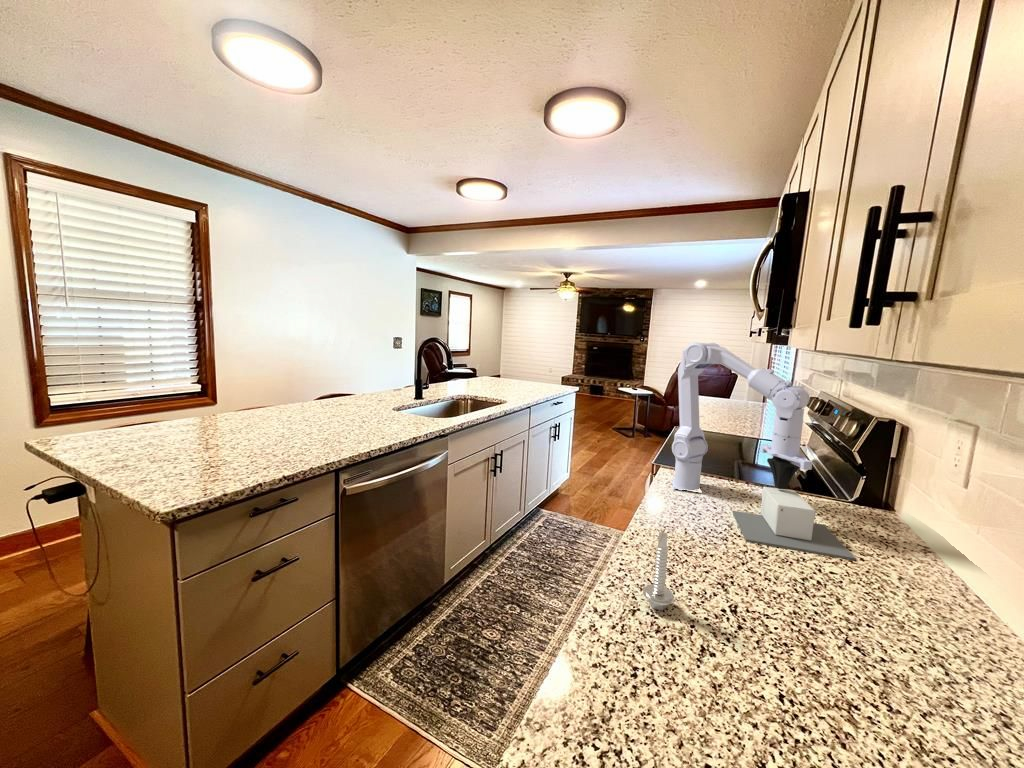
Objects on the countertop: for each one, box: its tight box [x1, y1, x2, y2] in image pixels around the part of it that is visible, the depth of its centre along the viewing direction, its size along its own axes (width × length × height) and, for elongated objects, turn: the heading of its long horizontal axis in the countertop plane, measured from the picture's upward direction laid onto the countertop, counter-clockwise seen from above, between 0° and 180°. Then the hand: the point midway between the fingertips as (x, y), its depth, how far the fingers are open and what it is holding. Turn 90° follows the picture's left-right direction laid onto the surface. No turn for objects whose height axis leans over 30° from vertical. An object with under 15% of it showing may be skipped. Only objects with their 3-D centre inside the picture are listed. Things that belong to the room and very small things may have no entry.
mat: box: [731, 510, 856, 561], centre depth 92 cm, size 16×20×1 cm
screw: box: [642, 531, 675, 611], centre depth 65 cm, size 13×5×5 cm
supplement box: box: [759, 486, 817, 541], centre depth 95 cm, size 7×7×13 cm
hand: (780, 488), depth 98 cm, fingers closed
